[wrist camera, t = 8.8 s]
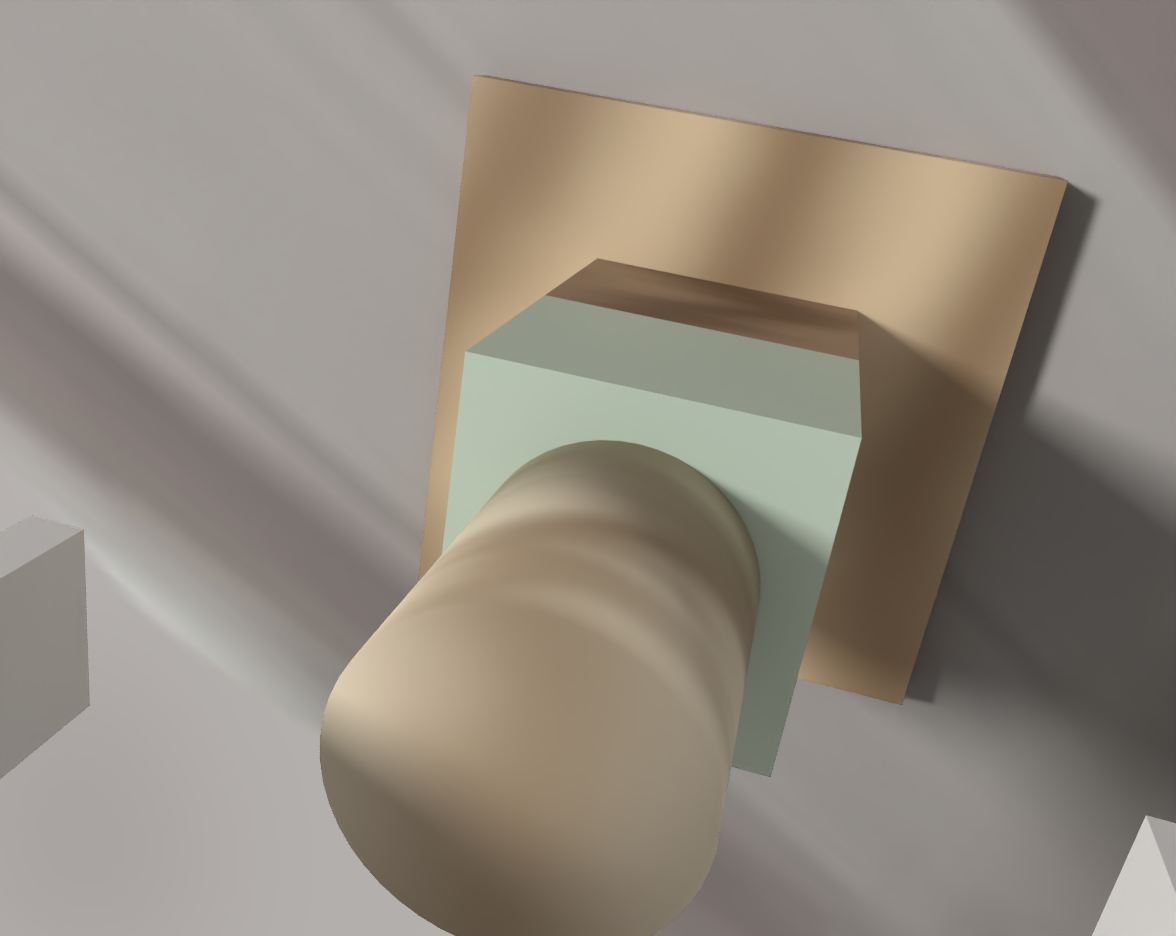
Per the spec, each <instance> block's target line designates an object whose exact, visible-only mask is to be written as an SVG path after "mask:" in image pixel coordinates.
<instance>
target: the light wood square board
mask: <svg viewBox="0 0 1176 936" xmlns="http://www.w3.org/2000/svg"><path fill="white" fill-rule="evenodd" d="M1067 183H1068V181H1067V180H1065V179H1062V178H1060V177H1055V176H1050V175H1044V174H1038V173H1033V172H1027V171H1021V170H1016V169H1010V168H1004V167H999V166H993V165H988V164H982V163H976V162H971V161H965V160H959V159H954V158H948V157H942V156H937V155H931V154H925V153H920V152H914V151H909V150H903V149H897V148H892V147H886V146H880V145H875V144H869V143H863V142H858V141H852V140H846V139H841V138H835V137H830V136H824V135H818V134H813V133H807V132H801V131H796V130H790V129H784V128H779V127H773V126H767V125H762V124H756V123H751V122H745V121H739V120H734V119H728V118H722V117H717V116H711V115H705V114H700V113H694V112H689V111H683V110H677V109H672V108H666V107H660V106H655V105H649V104H643V103H638V102H632V101H626V100H621V99H615V98H610V97H604V96H598V95H593V94H587V93H581V92H576V91H570V90H564V89H559V88H553V87H547V86H542V85H536V84H531V83H525V82H519V81H514V80H508V79H502V78H497V77H491V76H480V75H473V80H472V90H471V99H470V108H469V117H468V126H467V136H466V145H465V154H464V163H463V173H462V182H461V191H460V200H459V209H458V219H457V228H456V237H455V246H454V256H453V265H452V274H451V283H450V292H449V302H448V311H447V320H446V329H445V339H444V348H443V357H442V366H441V375H440V385H439V394H438V403H437V412H436V422H435V431H434V440H433V449H432V458H431V468H430V477H429V486H428V495H427V504H426V514H425V523H424V532H423V541H422V551H421V560H420V569H419V578H418V581H420V580H421V578H422V577H423V576H424V575H425V574H426V573H427V571H428V570H429V569H430V568H431V567H432V566H433V564H434V563H435V562H436V561H437V560H438V559H439V557H440V556H441V555H442V549H443V540H444V531H445V522H446V514H447V505H448V496H449V488H450V479H451V470H452V462H453V453H454V444H455V436H456V427H457V418H458V410H459V401H460V392H461V384H462V375H463V366H464V358H465V351H466V350H468V349H469V348H471V347H472V346H474V345H475V344H476V343H478V342H479V341H481V340H482V339H483V338H485V337H486V336H488V335H489V334H491V333H492V332H493V331H495V330H496V329H498V328H499V327H500V326H502V325H503V324H505V323H506V322H508V321H509V320H510V319H512V318H513V317H515V316H516V315H518V314H519V313H520V312H522V311H523V310H525V309H526V308H527V307H529V306H530V305H532V304H533V303H535V302H536V301H537V300H539V299H540V298H542V297H543V296H544V295H546V294H547V293H549V292H550V291H552V290H553V289H554V288H556V287H557V286H559V285H560V284H562V283H563V282H564V281H566V280H567V279H569V278H570V277H571V276H573V275H574V274H576V273H577V272H579V271H580V270H581V269H583V268H584V267H586V266H587V265H588V264H590V263H591V262H593V261H594V260H596V259H597V258H599V259H604V260H609V261H614V262H619V263H624V264H629V265H634V266H639V267H644V268H649V269H653V270H658V271H663V272H668V273H673V274H678V275H683V276H688V277H693V278H698V279H703V280H708V281H713V282H718V283H723V284H728V285H733V286H738V287H743V288H748V289H753V290H758V291H763V292H768V293H773V294H778V295H783V296H788V297H793V298H798V299H802V300H807V301H812V302H817V303H822V304H827V305H832V306H837V307H842V308H847V309H852V310H857V318H858V345H859V376H860V404H861V432H862V439H861V443H860V446H859V450H858V454H857V458H856V461H855V465H854V469H853V472H852V476H851V480H850V484H849V487H848V491H847V495H846V498H845V502H844V506H843V510H842V513H841V517H840V521H839V525H838V528H837V532H836V536H835V539H834V543H833V547H832V551H831V554H830V558H829V562H828V565H827V569H826V573H825V577H824V580H823V584H822V588H821V592H820V595H819V599H818V603H817V606H816V610H815V614H814V618H813V621H812V625H811V629H810V632H809V636H808V640H807V644H806V647H805V651H804V655H803V658H802V662H801V666H800V670H799V673H798V677H797V678H799V679H803V680H807V681H810V682H814V683H818V684H822V685H826V686H830V687H834V688H838V689H842V690H845V691H849V692H853V693H857V694H861V695H865V696H869V697H873V698H876V699H880V700H884V701H888V702H892V703H896V704H900V705H902V703H903V699H904V696H905V693H906V690H907V687H908V684H909V680H910V677H911V674H912V671H913V668H914V665H915V662H916V658H917V655H918V652H919V649H920V646H921V643H922V640H923V636H924V633H925V630H926V627H927V624H928V621H929V617H930V614H931V611H932V608H933V605H934V602H935V599H936V595H937V592H938V589H939V586H940V583H941V580H942V576H943V573H944V570H945V567H946V564H947V561H948V558H949V554H950V551H951V548H952V545H953V542H954V539H955V536H956V532H957V529H958V526H959V523H960V520H961V517H962V513H963V510H964V507H965V504H966V501H967V498H968V495H969V491H970V488H971V485H972V482H973V479H974V476H975V473H976V469H977V466H978V463H979V460H980V457H981V454H982V450H983V447H984V444H985V441H986V438H987V435H988V432H989V428H990V425H991V422H992V419H993V416H994V413H995V409H996V406H997V403H998V400H999V397H1000V394H1001V391H1002V387H1003V384H1004V381H1005V378H1006V375H1007V372H1008V369H1009V365H1010V362H1011V359H1012V356H1013V353H1014V350H1015V346H1016V343H1017V340H1018V337H1019V334H1020V331H1021V328H1022V324H1023V321H1024V318H1025V315H1026V312H1027V309H1028V305H1029V302H1030V299H1031V296H1032V293H1033V290H1034V287H1035V283H1036V280H1037V277H1038V274H1039V271H1040V268H1041V265H1042V261H1043V258H1044V255H1045V252H1046V249H1047V246H1048V242H1049V239H1050V236H1051V233H1052V230H1053V227H1054V224H1055V220H1056V217H1057V214H1058V211H1059V208H1060V205H1061V202H1062V198H1063V195H1064V192H1065V189H1066V186H1067Z"/></svg>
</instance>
